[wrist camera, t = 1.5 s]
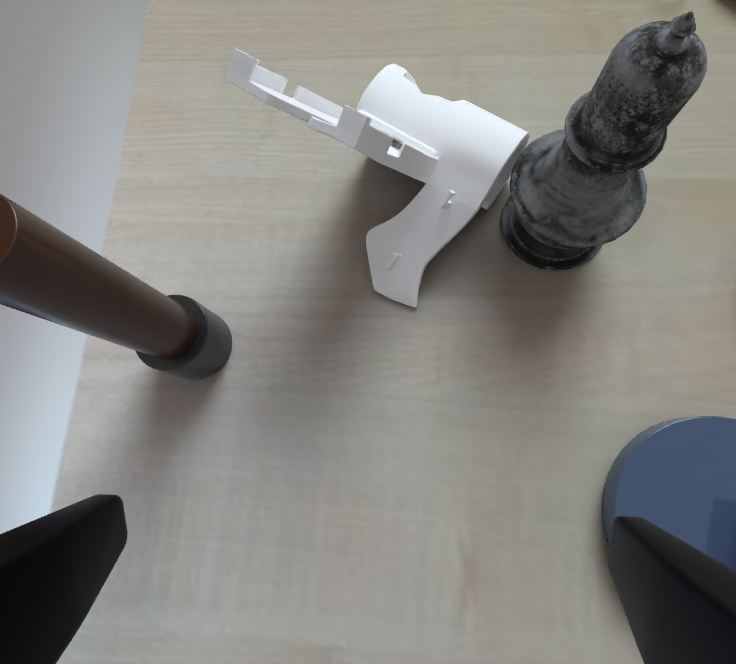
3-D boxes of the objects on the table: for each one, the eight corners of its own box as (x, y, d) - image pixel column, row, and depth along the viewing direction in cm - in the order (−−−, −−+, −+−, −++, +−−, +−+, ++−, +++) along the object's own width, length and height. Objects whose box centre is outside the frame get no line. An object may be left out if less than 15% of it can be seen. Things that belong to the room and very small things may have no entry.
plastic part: (516, 169, 25) (613, -60, 14) (414, 315, 23) (428, 195, 12) (401, 106, 26) (401, -148, 15) (298, 240, 25) (212, 70, 13)
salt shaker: (482, 257, 24) (553, 78, 12) (512, 161, 25) (603, -87, 13) (597, 289, 23) (794, 130, 11) (623, 188, 24) (825, -52, 12)
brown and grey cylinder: (209, 391, 23) (-25, 330, 11) (152, 360, 24) (-131, 268, 11) (245, 329, 24) (64, 203, 11) (188, 301, 25) (-42, 151, 12)
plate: (787, 684, 18) (812, 700, 17) (571, 567, 20) (581, 575, 19) (848, 476, 20) (875, 478, 19) (643, 384, 22) (656, 380, 20)
